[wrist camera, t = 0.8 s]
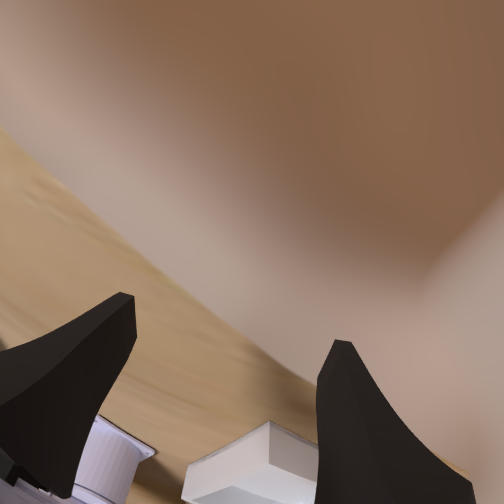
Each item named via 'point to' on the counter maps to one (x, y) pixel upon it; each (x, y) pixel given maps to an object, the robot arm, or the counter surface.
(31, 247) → the counter surface
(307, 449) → the box
